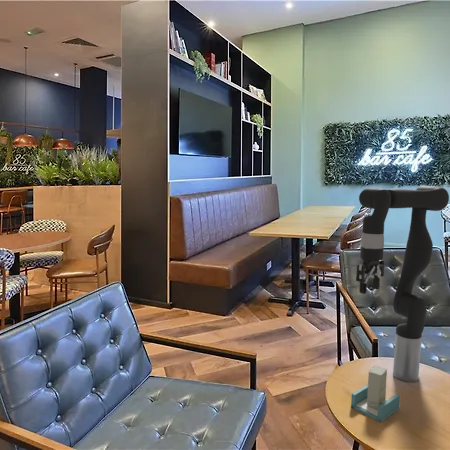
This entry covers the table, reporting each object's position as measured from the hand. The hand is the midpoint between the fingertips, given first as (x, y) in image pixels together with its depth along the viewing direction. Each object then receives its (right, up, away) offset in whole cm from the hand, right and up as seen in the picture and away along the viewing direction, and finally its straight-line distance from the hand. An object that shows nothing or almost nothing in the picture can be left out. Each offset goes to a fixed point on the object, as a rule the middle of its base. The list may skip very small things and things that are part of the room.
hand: (369, 291), depth 147 cm
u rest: (0, -39, -5) cm, 39 cm away
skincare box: (+1, -38, -5) cm, 38 cm away
